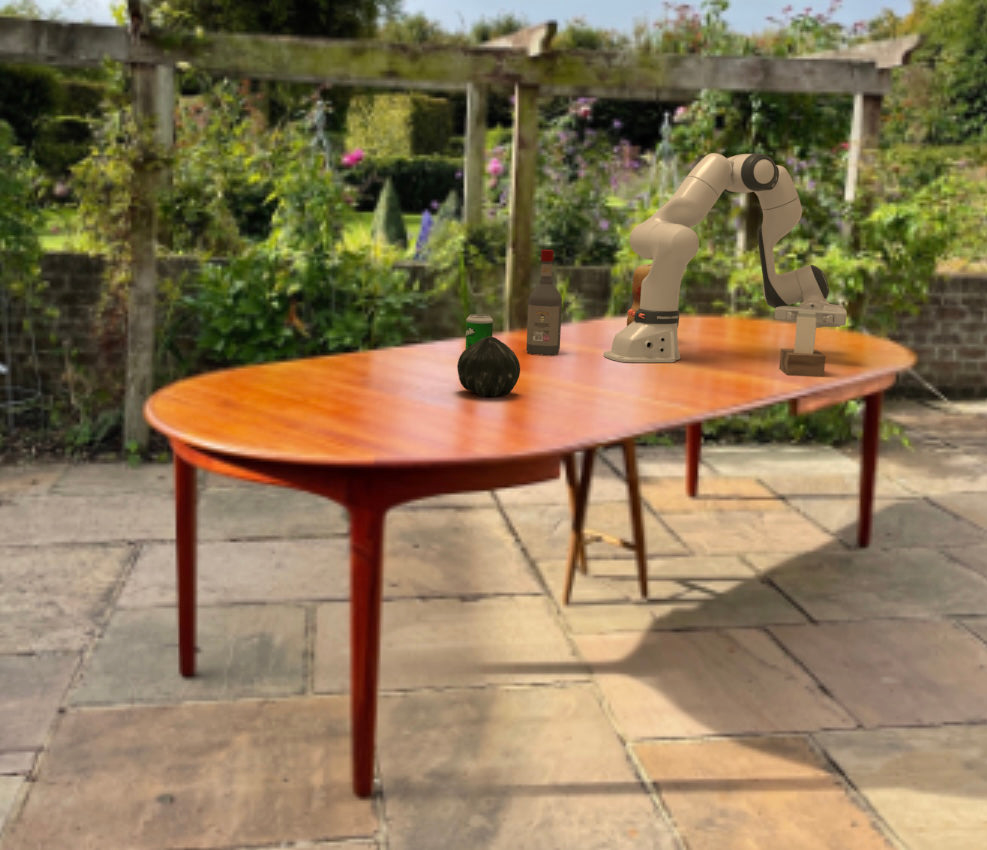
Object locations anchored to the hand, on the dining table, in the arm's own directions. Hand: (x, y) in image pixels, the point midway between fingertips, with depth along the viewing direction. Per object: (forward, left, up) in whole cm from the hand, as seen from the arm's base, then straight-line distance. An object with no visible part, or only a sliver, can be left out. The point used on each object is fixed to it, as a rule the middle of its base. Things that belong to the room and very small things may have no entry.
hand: (808, 318), depth 312 cm
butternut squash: (-25, +47, -14) cm, 55 cm away
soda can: (-89, +31, -14) cm, 95 cm away
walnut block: (-8, -9, -14) cm, 18 cm away
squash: (-105, -17, -14) cm, 107 cm away
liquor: (-67, +35, -14) cm, 77 cm away
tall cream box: (-8, -9, -8) cm, 14 cm away
